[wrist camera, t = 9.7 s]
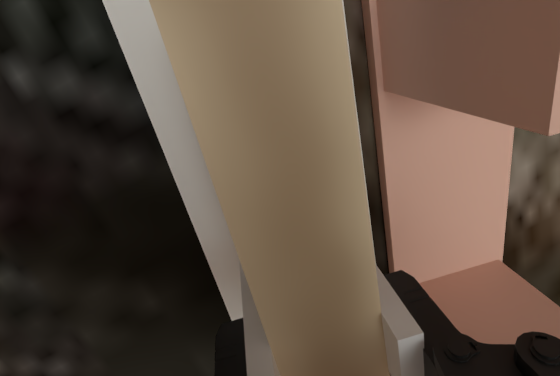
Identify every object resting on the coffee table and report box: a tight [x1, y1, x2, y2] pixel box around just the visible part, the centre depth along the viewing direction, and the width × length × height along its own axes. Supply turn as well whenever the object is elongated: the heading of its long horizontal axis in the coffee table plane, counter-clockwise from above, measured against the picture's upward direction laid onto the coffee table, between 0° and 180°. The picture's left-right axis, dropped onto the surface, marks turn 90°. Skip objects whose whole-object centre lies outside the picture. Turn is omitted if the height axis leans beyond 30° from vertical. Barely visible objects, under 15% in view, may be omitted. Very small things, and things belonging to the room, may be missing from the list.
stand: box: [361, 0, 560, 344], centre depth 14 cm, size 7×21×9 cm, turn 13°
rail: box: [149, 0, 390, 376], centre depth 12 cm, size 4×22×4 cm, turn 13°
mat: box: [102, 0, 376, 321], centre depth 17 cm, size 9×24×1 cm, turn 13°
